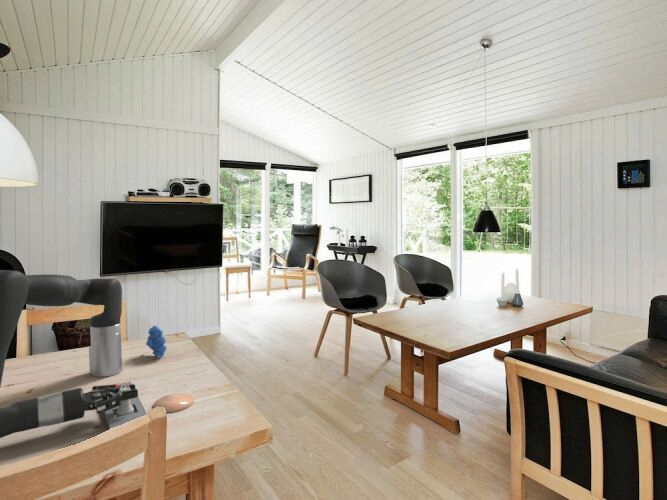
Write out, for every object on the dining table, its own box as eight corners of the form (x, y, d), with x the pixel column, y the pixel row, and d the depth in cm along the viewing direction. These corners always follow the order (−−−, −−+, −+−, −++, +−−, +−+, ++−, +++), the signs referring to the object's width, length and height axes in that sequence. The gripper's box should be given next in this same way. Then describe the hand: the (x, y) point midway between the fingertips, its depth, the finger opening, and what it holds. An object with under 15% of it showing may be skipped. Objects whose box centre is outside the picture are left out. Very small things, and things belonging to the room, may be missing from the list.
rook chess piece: (120, 412, 111) (119, 384, 110) (137, 411, 111) (136, 384, 111) (113, 420, 106) (112, 391, 106) (130, 419, 107) (129, 391, 106)
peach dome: (144, 409, 112) (144, 407, 112) (170, 393, 123) (170, 391, 123) (178, 414, 110) (178, 412, 110) (201, 397, 120) (201, 395, 120)
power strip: (98, 392, 123) (98, 386, 123) (130, 385, 128) (130, 379, 128) (111, 435, 99) (110, 427, 99) (150, 424, 104) (149, 417, 104)
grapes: (139, 355, 157) (138, 325, 156) (156, 351, 162) (155, 322, 161) (153, 362, 149) (152, 331, 149) (170, 357, 155) (169, 327, 154)
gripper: (61, 403, 94) (140, 385, 104) (59, 383, 105) (131, 369, 115) (62, 433, 95) (141, 413, 105) (61, 410, 106) (132, 394, 116)
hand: (136, 390), depth 110 cm, fingers closed on rook chess piece, 3 cm apart
